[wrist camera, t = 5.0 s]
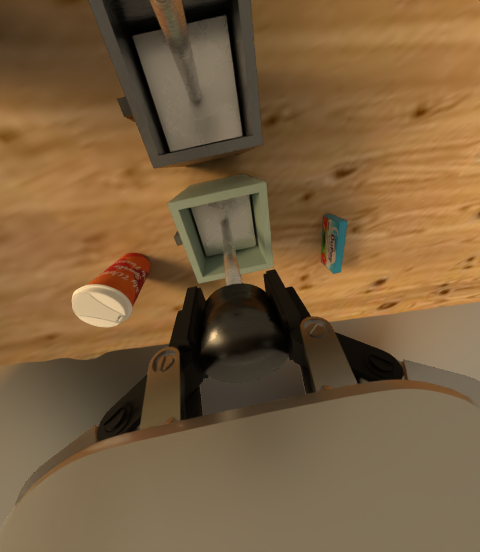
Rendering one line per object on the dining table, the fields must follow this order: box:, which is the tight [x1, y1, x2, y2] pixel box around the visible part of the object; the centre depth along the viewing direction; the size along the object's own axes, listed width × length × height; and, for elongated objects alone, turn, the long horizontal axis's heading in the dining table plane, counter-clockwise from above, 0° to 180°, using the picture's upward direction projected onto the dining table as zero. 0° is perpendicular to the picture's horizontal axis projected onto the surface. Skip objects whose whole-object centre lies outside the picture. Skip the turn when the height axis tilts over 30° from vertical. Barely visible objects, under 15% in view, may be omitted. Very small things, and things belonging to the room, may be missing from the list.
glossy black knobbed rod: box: [191, 195, 289, 383], centre depth 16 cm, size 8×8×20 cm
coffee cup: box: [72, 253, 150, 327], centre depth 33 cm, size 8×8×15 cm
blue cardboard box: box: [321, 214, 347, 274], centre depth 39 cm, size 12×2×6 cm, turn 12°
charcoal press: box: [88, 0, 263, 168], centre depth 20 cm, size 10×12×18 cm
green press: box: [167, 174, 274, 284], centre depth 28 cm, size 10×12×18 cm
